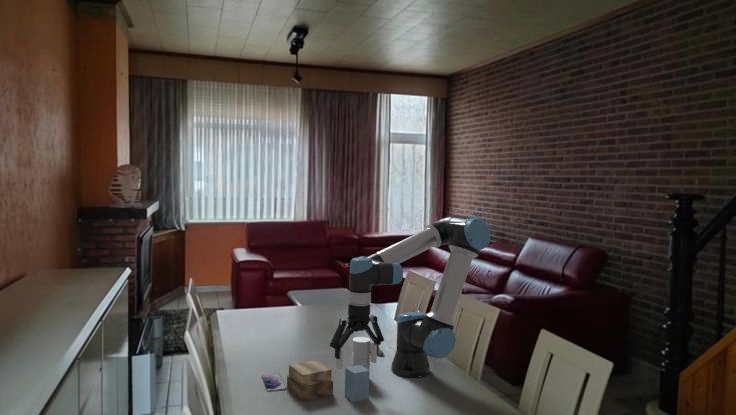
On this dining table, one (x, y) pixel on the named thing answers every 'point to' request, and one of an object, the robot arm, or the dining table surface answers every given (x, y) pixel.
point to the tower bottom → (309, 389)
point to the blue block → (357, 383)
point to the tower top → (310, 373)
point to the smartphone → (273, 382)
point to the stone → (380, 353)
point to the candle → (361, 352)
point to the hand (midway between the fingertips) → (356, 365)
